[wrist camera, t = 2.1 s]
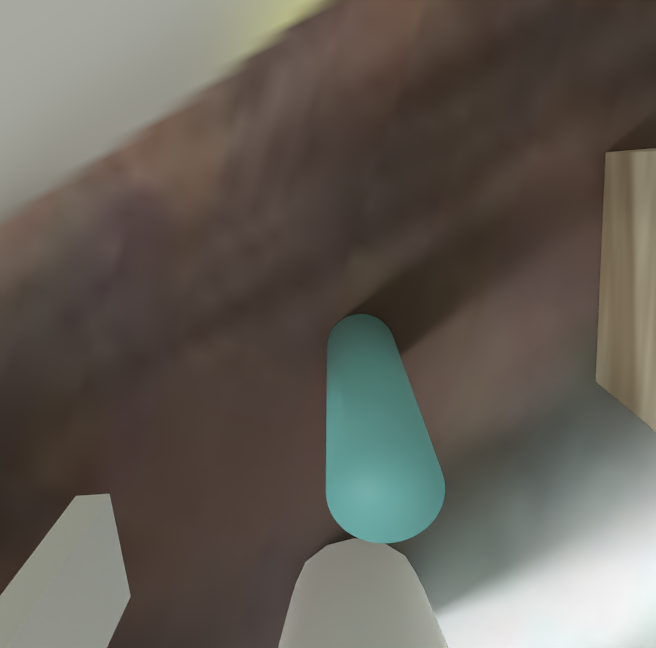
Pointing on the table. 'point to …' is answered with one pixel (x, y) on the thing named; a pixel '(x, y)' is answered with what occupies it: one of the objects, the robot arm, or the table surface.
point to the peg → (376, 438)
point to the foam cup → (360, 601)
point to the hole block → (629, 283)
